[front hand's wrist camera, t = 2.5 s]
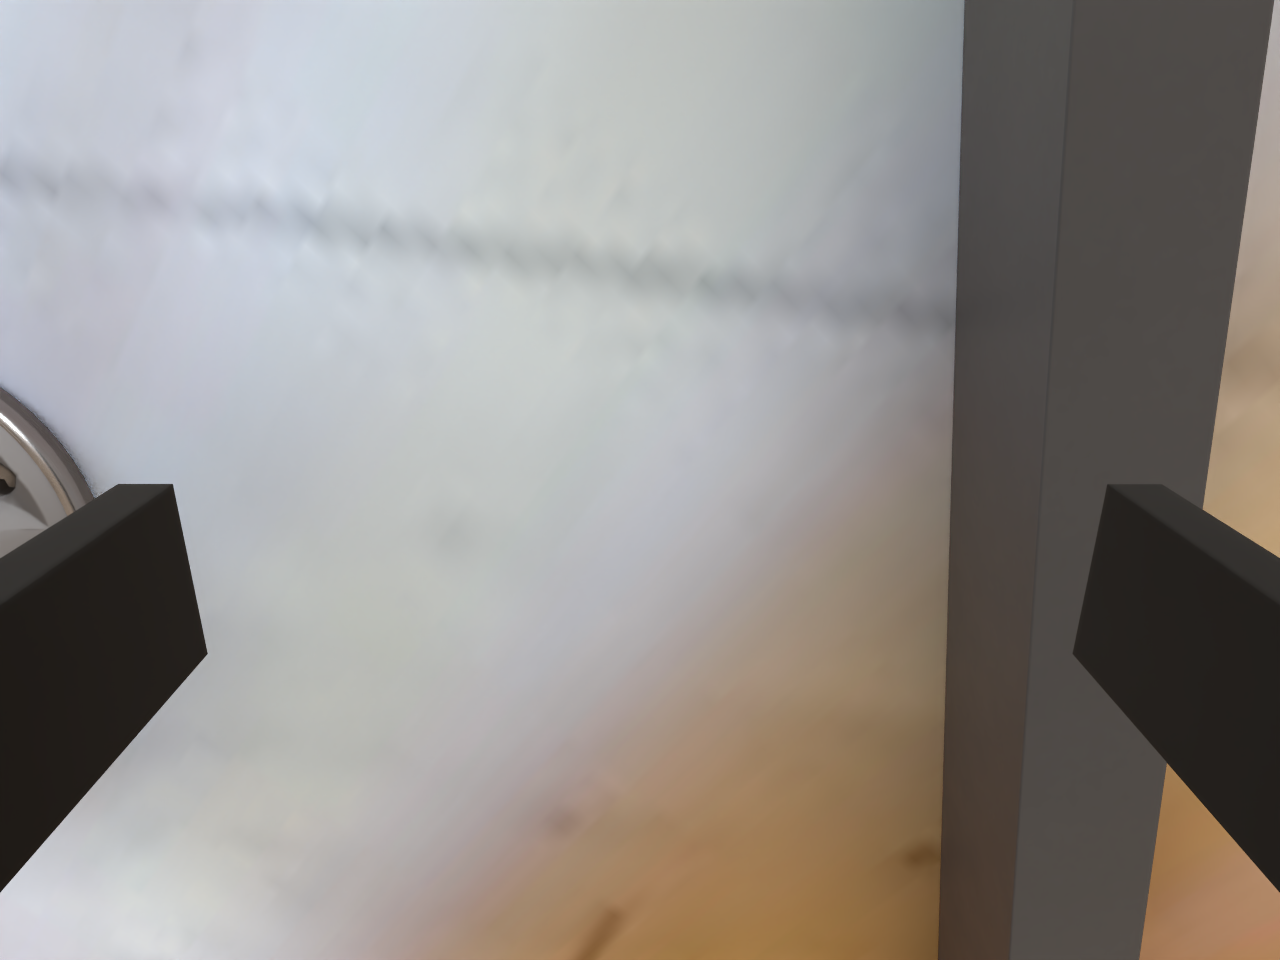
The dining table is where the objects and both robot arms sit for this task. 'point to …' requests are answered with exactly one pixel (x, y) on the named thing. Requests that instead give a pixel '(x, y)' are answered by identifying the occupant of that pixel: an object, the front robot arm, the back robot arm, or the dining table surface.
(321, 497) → the dining table surface
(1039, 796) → the post
